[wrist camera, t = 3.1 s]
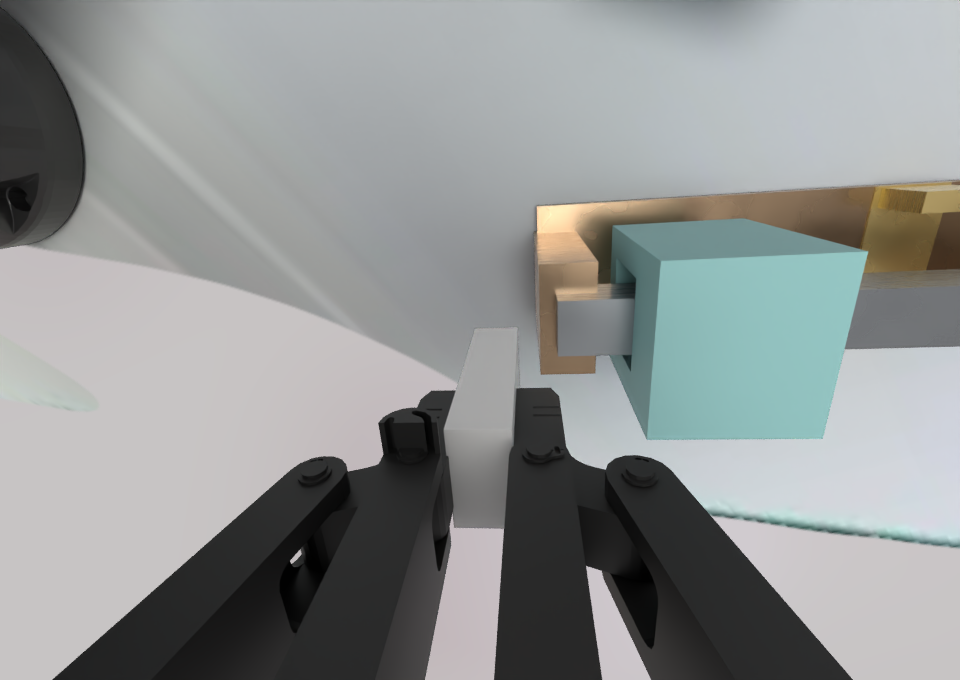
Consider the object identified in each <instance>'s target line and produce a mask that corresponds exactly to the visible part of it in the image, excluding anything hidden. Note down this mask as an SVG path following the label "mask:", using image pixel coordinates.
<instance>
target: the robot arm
mask: <svg viewBox="0 0 960 680" xmlns="http://www.w3.org/2000/svg"><path fill="white" fill-rule="evenodd" d="M82 174H83V156H82V146H81V139H80V134H79V130H78V126H77V122H76V119H75V116H74V112H73V110H72V107H71V104H70V102H69V99H68V97H67V95H66V92H65V90H64V88H63V86H62V84H61V82H60V80H59V78H58V77H57V75H56V73H55V71H54V70H53V68H52V66H51V65H50V63H49V62H48V60H47V59H46V57H45V56H44V54H43V53H42V51H41V50H40V49H39V47H38V46H37V45H36V44H35V42H34V41H33V40H32V39H31V37H30V36H29V35H28V34H27V33H26V32H25V31H24V29H23V28H22V27H21V26H20V25H19V24H18V23H17V22H16V21H15V20H14V19H13V18H12V17H11V16H10V15H9V14H8V13H6V12H5V11H4V10H3V9H2V8H1V7H0V249H3V248H9V247H14V246H21V245H26V244H31V243H34V242H37V241H40V240H42V239H44V238H46V237H48V236H50V235H51V234H52V233H54V232H55V231H56V230H57V229H59V228H60V227H61V226H62V225H63V224H64V222H65V221H66V220H67V218H68V217H69V216H70V214H71V212H72V211H73V209H74V206H75V204H76V202H77V199H78V196H79V192H80V188H81V182H82ZM378 424H379V430H380V435H381V442H382V448H383V454H384V455H383V457H382V459H381V461H380V463H379V464H378V465H376V466H372V467H368V468H364V469H359V470H354V471H349V472H348V471H347V466H346V464H345V463H344V462H343V460H341V459H339V458H336V457H325V456H324V457H318V458H313V459H310V460H308V461H305V462H303V463H300V464H299V465H297V466H296V467H294V468H293V469H292V470H290V471H289V472H288V473H287V474H286V475H284V476H283V478H281V479H280V480H279V481H278V482H277V483H275V484H274V485H273V486H272V487H271V488H270V489H269V490H267V491H266V492H265V493H264V494H263V495H262V496H261V497H260V498H258V499H257V500H256V501H255V502H254V503H253V504H252V505H250V506H249V507H248V508H247V509H246V510H245V511H244V512H242V513H241V514H240V515H239V516H238V517H237V518H236V519H234V520H233V521H232V522H231V523H230V524H229V525H228V526H227V527H225V528H224V529H223V530H222V531H221V532H220V533H219V534H217V535H216V536H215V537H214V538H213V539H212V540H211V541H210V542H208V543H207V544H206V545H205V546H204V547H203V548H202V549H200V550H199V551H198V552H197V553H196V554H195V555H194V556H192V557H191V558H190V559H189V560H188V561H187V562H186V563H185V564H183V565H182V566H181V567H180V568H179V569H178V570H177V571H175V572H174V573H173V574H172V575H171V576H170V577H169V578H167V579H166V580H165V581H164V582H163V583H162V584H161V585H159V587H157V588H156V589H155V590H154V591H153V592H151V593H150V594H149V595H148V596H147V597H146V598H145V599H144V600H142V601H141V602H140V603H139V604H138V605H137V606H136V607H135V608H133V609H132V610H131V611H130V612H129V613H128V614H127V615H126V616H124V617H123V618H122V619H121V620H120V621H119V622H117V623H116V624H115V625H114V626H113V627H112V628H111V629H109V630H108V631H107V632H106V633H105V634H104V635H103V636H102V637H100V638H99V639H98V640H97V641H96V642H95V643H94V644H92V645H91V646H90V647H89V648H88V649H87V650H86V651H84V652H83V653H82V654H81V655H80V656H79V657H78V658H76V660H74V661H73V662H72V663H71V664H70V665H69V666H67V668H65V669H64V670H63V671H62V672H61V673H60V674H58V675H57V676H56V677H55V678H54V679H53V680H425V676H426V670H427V666H428V661H429V656H430V651H431V645H432V640H433V635H434V630H435V624H436V619H437V615H438V609H439V604H440V599H441V594H442V589H443V584H444V579H445V574H446V568H447V563H448V558H449V553H450V548H451V536H450V527H449V526H450V521H451V517H452V512H453V521H454V527H455V528H456V527H457V528H501V529H503V528H504V540H503V555H502V570H501V584H500V599H499V600H500V601H499V614H498V631H497V646H496V661H495V675H494V680H602V676H601V669H600V662H599V655H598V648H597V641H596V634H595V627H594V620H593V613H592V606H591V599H590V592H589V586H588V578H587V571H586V566H588V567H592V568H595V569H598V570H602V573H603V577H604V580H605V583H606V585H607V587H608V589H609V591H610V593H611V595H612V597H613V600H614V601H615V604H616V606H617V608H618V610H619V612H620V614H621V616H622V618H623V621H624V623H625V625H626V627H627V629H628V631H629V633H630V636H631V638H632V640H633V642H634V644H635V646H636V648H637V650H638V653H639V655H640V657H641V659H642V661H643V663H644V665H645V667H646V670H647V672H648V674H649V676H650V678H651V680H853V679H852V678H851V677H850V676H849V675H848V674H847V673H846V671H845V670H844V669H843V668H842V667H841V666H840V665H839V663H838V662H837V661H836V660H835V659H834V657H833V656H832V655H831V654H830V653H829V652H828V651H827V650H826V648H825V647H824V646H823V645H822V644H821V642H820V641H819V640H818V639H817V638H816V637H815V636H814V634H813V633H812V632H811V631H810V630H809V629H808V628H807V626H806V625H805V624H804V623H803V622H802V621H801V619H800V618H799V617H798V616H797V615H796V614H795V613H794V611H793V610H792V609H791V608H790V607H789V606H788V605H787V603H786V602H785V601H784V600H783V599H782V598H781V596H780V595H779V594H778V593H777V592H776V591H775V589H774V588H773V587H772V586H771V585H770V584H769V583H768V582H767V580H766V579H765V578H764V577H763V576H762V575H761V573H760V572H759V571H758V570H757V569H756V568H755V567H754V565H753V564H752V563H751V562H750V561H749V560H748V558H747V557H746V556H745V555H744V554H743V553H742V552H741V550H740V549H739V548H738V547H737V546H736V545H735V544H734V542H733V541H732V540H731V539H730V538H729V536H727V534H726V533H725V532H724V531H723V530H722V528H721V527H720V526H719V525H718V524H717V523H716V522H715V521H714V519H713V518H712V517H711V516H710V515H709V513H708V512H707V511H706V510H705V509H704V508H703V507H702V505H701V504H700V503H699V502H698V501H697V500H696V498H695V497H694V496H693V495H692V494H691V493H690V492H689V490H688V489H687V488H686V487H685V486H684V485H683V483H682V482H681V481H680V480H679V479H678V478H677V477H676V475H675V474H674V473H673V472H672V471H671V470H670V469H669V468H668V467H666V466H665V465H664V464H663V463H661V462H659V461H656V460H654V459H652V458H648V457H643V456H638V455H633V456H622V457H619V458H616V459H614V460H613V461H611V462H610V463H609V464H608V465H607V468H606V470H604V469H600V468H595V467H592V466H588V465H585V464H583V463H581V462H579V461H577V460H576V459H574V458H573V457H572V456H571V455H570V453H569V451H568V449H567V447H566V443H565V436H564V429H563V422H562V415H561V408H560V400H559V396H558V395H557V394H556V393H555V392H554V391H553V390H552V389H551V388H520V374H519V348H518V327H507V328H475V331H474V334H473V337H472V340H471V343H470V347H469V350H468V353H467V356H466V359H465V363H464V366H463V369H462V372H461V375H460V379H459V382H458V385H457V388H456V391H431V392H430V393H428V394H427V395H426V396H424V397H423V398H422V399H421V400H420V403H419V405H418V407H417V408H406V409H401V410H398V411H394V412H392V413H390V414H388V415H386V416H385V417H383V419H382V420H381V421H380V422H379V423H378ZM300 549H301V553H302V555H301V556H300V557H299V558H298V559H297V560H296V561H295V562H294V563H293V564H291V563H290V560H291V559H292V558H293V557H294V555H295V554H296V553H297V552H298V551H299V550H300Z"/></svg>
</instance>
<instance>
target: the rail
mask: <svg viewBox="0 0 960 680" xmlns="http://www.w3.org/2000/svg"><path fill="white" fill-rule="evenodd" d="M741 218H744V219H748V220H752V221H756V222H759V223H763V224H767V225H771V226H774V227H778V228H782V229H786V230H790V231H793V232H797V233H801V234H805V235H808V236H812V237H816V238H820V239H823V240H827V241H831V242H835V243H838V244H842V245H846V246H850V247H853V248H857V249H861V250H865V251H868V255H867V259H866V263H865V267H864V271H863V275H862V279H861V283H860V288H859V292H858V296H857V300H856V304H855V308H854V312H853V316H852V320H851V324H850V329H849V333H848V337H847V341H846V345H845V349H874V348H914V347H953V346H960V180H948V181H932V182H915V183H899V184H882V185H866V186H849V187H833V188H816V189H800V190H783V191H767V192H750V193H734V194H717V195H701V196H685V197H668V198H652V199H635V200H619V201H602V202H586V203H569V204H553V205H537V232H534V266H535V309H536V323H537V335H538V347H539V359H540V371H541V374H587V373H595V361H596V356H600V355H632V344H633V327H634V310H635V293H636V283H612V284H610V280H611V254H612V228H613V225H632V224H650V223H668V222H686V221H704V220H723V219H741Z"/></svg>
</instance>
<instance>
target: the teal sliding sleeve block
mask: <svg viewBox="0 0 960 680" xmlns="http://www.w3.org/2000/svg"><path fill="white" fill-rule="evenodd" d="M867 255H868V251H865V250H861V249H857V248H853V247H850V246H846V245H842V244H838V243H835V242H831V241H827V240H823V239H820V238H816V237H812V236H808V235H805V234H801V233H797V232H793V231H790V230H786V229H782V228H778V227H774V226H771V225H767V224H763V223H759V222H756V221H752V220H748V219H744V218H741V219H723V220H704V221H686V222H668V223H650V224H632V225H613V228H612V254H611V280H610V284H612V283H636V293H635V310H634V327H633V344H632V355H610V358H611V360H612V362H613V364H614V367H615V369H616V371H617V373H618V376H619V378H620V380H621V382H622V385H623V387H624V389H625V392H626V394H627V396H628V398H629V401H630V403H631V405H632V407H633V410H634V412H635V414H636V416H637V419H638V421H639V423H640V425H641V428H642V430H643V432H644V434H645V437H646V439H647V440H696V439H823V435H824V431H825V427H826V423H827V419H828V415H829V411H830V407H831V402H832V398H833V394H834V390H835V386H836V382H837V378H838V374H839V370H840V366H841V361H842V357H843V353H844V349H845V345H846V341H847V337H848V333H849V329H850V324H851V320H852V316H853V312H854V308H855V304H856V300H857V296H858V292H859V288H860V283H861V279H862V275H863V271H864V267H865V263H866V259H867Z"/></svg>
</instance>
